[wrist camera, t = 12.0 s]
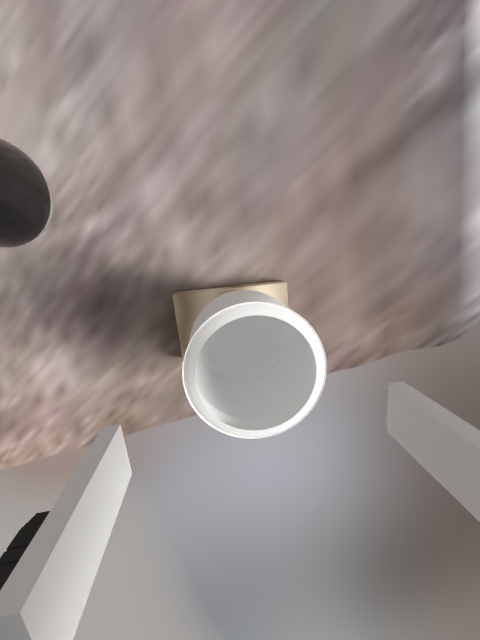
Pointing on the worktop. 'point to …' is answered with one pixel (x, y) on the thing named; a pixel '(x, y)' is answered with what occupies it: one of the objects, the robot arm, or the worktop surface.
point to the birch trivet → (196, 300)
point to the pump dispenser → (22, 198)
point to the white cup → (252, 365)
